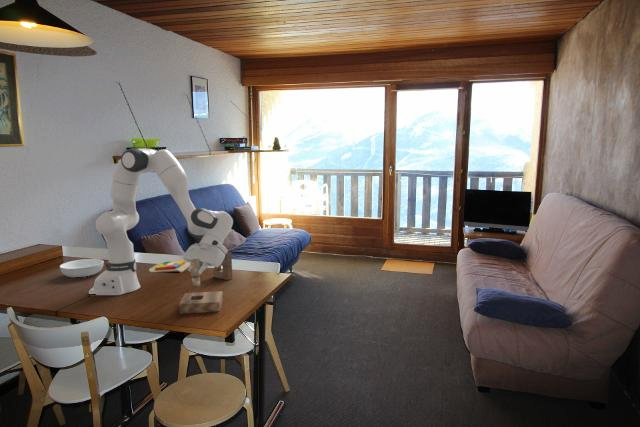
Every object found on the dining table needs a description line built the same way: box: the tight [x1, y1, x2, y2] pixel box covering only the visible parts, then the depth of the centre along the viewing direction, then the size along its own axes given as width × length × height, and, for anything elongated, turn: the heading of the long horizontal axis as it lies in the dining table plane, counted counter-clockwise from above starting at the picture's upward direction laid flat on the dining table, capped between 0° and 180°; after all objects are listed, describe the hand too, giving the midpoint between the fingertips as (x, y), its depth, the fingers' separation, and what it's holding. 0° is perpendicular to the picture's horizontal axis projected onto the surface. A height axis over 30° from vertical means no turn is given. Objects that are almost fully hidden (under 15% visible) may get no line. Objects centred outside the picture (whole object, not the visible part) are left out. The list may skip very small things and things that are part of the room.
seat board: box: [178, 290, 223, 315], centre depth 187 cm, size 16×14×4 cm
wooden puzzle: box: [148, 260, 190, 273], centre depth 249 cm, size 18×19×4 cm
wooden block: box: [212, 251, 234, 281], centre depth 227 cm, size 4×11×18 cm, turn 57°
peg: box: [190, 259, 202, 288], centre depth 185 cm, size 4×4×11 cm
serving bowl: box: [59, 258, 105, 278], centre depth 237 cm, size 21×21×7 cm
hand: (194, 272), depth 184 cm, fingers closed on peg, 4 cm apart
